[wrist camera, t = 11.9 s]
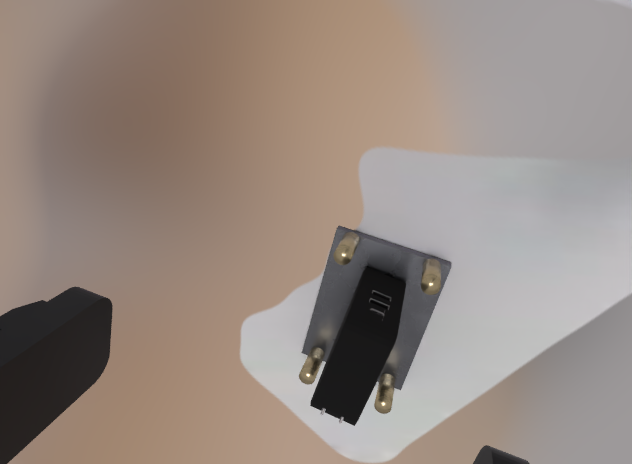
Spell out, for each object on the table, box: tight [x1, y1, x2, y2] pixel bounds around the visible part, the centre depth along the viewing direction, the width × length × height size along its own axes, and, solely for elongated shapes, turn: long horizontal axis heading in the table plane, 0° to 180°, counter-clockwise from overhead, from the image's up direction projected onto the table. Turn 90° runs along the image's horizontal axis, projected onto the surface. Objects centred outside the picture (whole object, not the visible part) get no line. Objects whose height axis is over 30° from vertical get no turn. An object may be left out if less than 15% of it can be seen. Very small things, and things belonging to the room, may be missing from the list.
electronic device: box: [310, 267, 406, 426], centre depth 40 cm, size 4×10×10 cm, turn 162°
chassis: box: [299, 226, 451, 414], centre depth 43 cm, size 15×11×5 cm
